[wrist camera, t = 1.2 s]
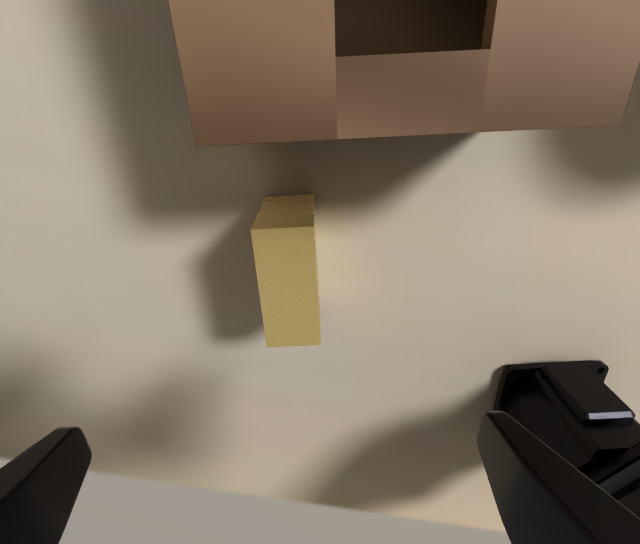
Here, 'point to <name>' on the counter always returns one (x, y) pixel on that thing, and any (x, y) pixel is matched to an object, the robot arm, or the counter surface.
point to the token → (287, 270)
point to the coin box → (402, 66)
